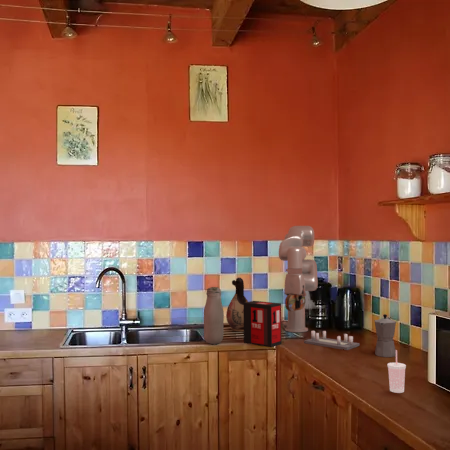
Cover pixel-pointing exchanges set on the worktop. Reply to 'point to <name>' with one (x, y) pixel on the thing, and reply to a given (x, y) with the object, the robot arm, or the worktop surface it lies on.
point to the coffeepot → (385, 337)
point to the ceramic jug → (237, 307)
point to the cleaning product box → (262, 323)
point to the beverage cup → (396, 376)
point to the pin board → (332, 341)
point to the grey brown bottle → (213, 316)
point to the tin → (293, 303)
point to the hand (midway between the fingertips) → (295, 307)
